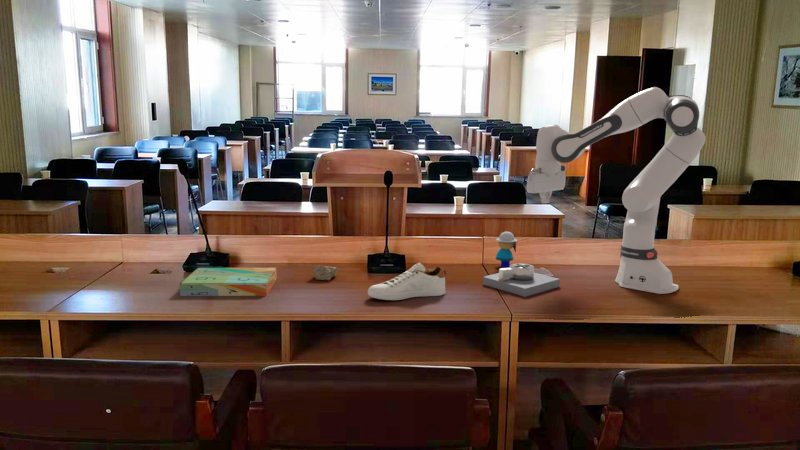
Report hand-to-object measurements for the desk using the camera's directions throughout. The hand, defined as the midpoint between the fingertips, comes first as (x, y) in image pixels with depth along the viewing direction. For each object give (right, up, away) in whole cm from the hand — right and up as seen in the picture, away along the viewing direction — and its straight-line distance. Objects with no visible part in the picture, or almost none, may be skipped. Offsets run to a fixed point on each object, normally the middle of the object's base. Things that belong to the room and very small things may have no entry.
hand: (545, 202), depth 245 cm
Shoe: (-55, -34, -24) cm, 68 cm away
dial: (-14, -28, -12) cm, 33 cm away
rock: (-86, -30, -1) cm, 91 cm away
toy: (-13, -26, +17) cm, 34 cm away
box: (-119, -32, -14) cm, 124 cm away
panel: (-11, -31, -10) cm, 35 cm away
